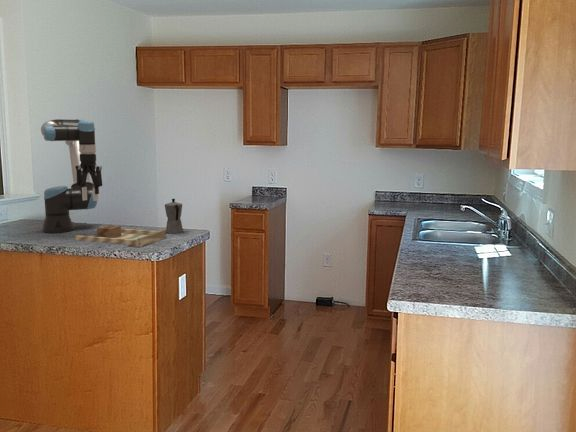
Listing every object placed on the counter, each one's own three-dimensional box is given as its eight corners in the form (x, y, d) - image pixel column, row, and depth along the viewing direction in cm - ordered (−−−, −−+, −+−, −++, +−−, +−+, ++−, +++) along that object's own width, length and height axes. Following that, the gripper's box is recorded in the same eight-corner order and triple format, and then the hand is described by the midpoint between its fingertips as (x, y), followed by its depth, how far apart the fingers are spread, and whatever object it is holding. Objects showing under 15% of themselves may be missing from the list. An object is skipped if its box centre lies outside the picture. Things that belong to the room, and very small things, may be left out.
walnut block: (97, 237, 261) (97, 227, 261) (107, 234, 269) (107, 225, 268) (111, 238, 259) (111, 228, 258) (121, 235, 267) (120, 226, 266)
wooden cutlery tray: (75, 242, 256) (74, 233, 256) (105, 233, 278) (104, 225, 278) (140, 247, 246) (140, 238, 245) (166, 237, 268) (166, 229, 267)
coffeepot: (162, 230, 285) (161, 197, 282) (180, 229, 289) (179, 196, 286) (169, 236, 271) (168, 201, 268) (187, 234, 275) (186, 200, 272)
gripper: (66, 153, 259) (69, 200, 263) (99, 154, 254) (101, 202, 258) (76, 152, 266) (79, 198, 270) (108, 153, 261) (111, 200, 265)
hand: (90, 200), depth 264 cm, fingers open, 6 cm apart
